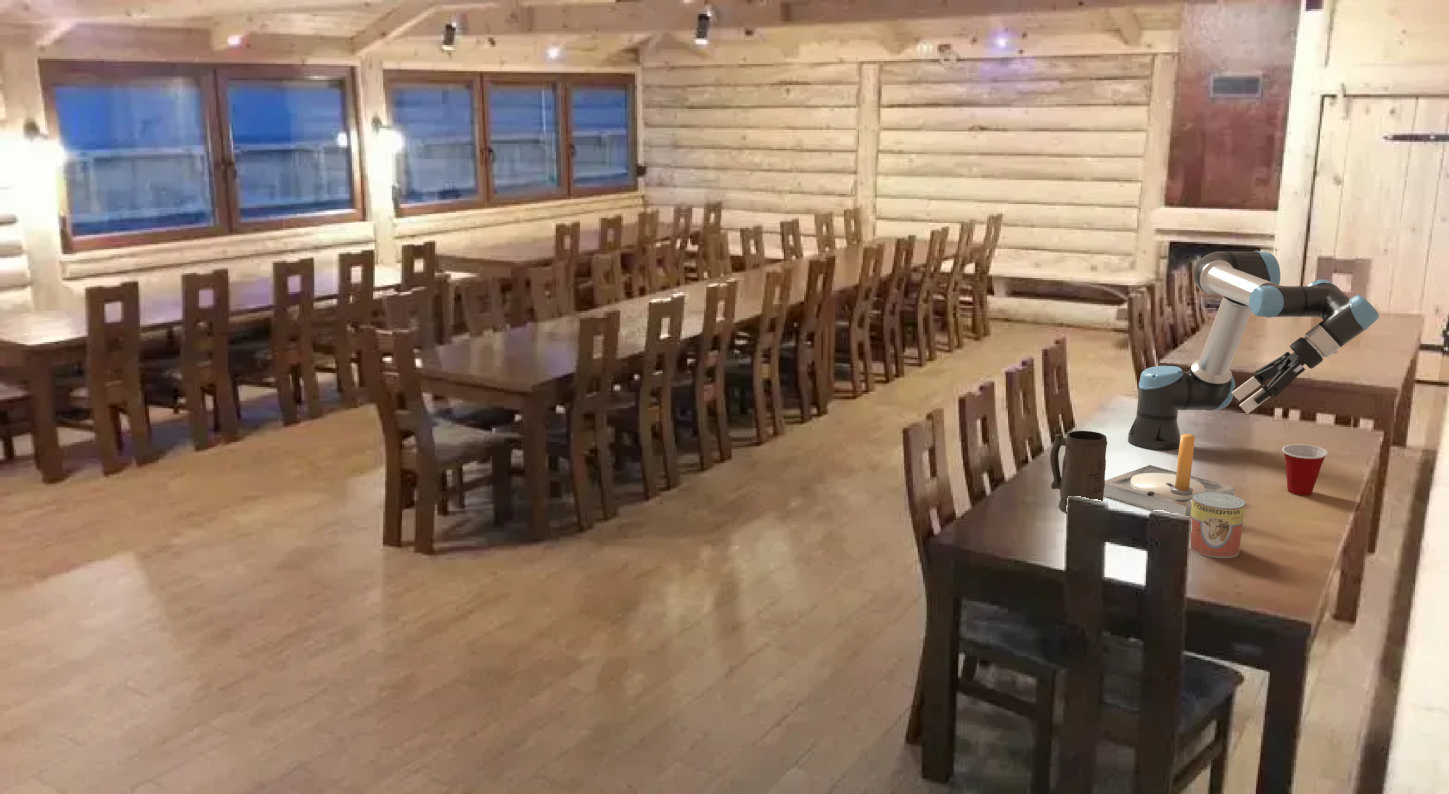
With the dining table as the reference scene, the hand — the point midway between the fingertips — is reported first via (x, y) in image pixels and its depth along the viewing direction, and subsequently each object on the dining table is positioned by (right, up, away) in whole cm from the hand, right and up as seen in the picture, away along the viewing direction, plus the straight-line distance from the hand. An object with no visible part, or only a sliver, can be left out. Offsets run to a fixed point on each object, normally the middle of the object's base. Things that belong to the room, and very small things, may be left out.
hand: (1239, 403), depth 281 cm
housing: (-12, -25, +16) cm, 32 cm away
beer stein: (-39, -27, +8) cm, 48 cm away
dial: (-12, -23, +15) cm, 30 cm away
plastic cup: (+26, -24, +21) cm, 41 cm away
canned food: (-15, -34, -18) cm, 41 cm away
